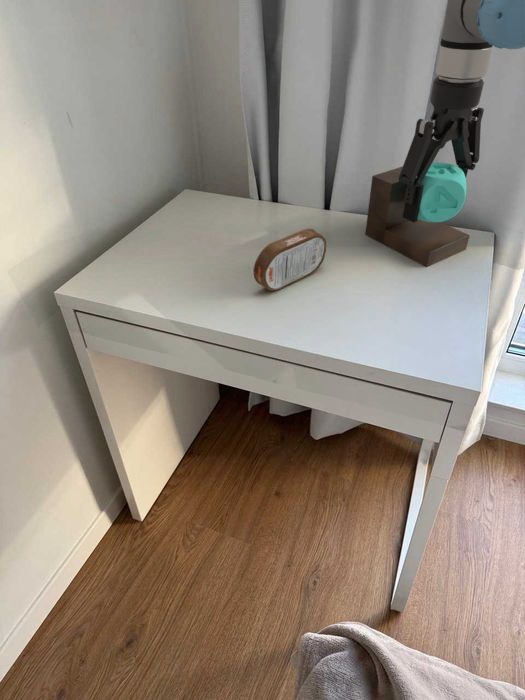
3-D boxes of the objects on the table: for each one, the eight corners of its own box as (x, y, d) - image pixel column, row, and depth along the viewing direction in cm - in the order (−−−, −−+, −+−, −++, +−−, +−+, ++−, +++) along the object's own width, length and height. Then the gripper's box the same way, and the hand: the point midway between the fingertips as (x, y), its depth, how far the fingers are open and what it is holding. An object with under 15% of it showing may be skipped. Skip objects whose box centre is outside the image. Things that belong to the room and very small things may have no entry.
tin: (315, 262, 92) (318, 220, 87) (327, 269, 90) (331, 226, 85) (252, 292, 85) (251, 248, 80) (264, 300, 83) (263, 255, 78)
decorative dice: (460, 221, 89) (471, 177, 84) (416, 223, 88) (424, 179, 83) (444, 203, 95) (453, 160, 90) (403, 205, 95) (410, 162, 89)
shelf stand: (465, 249, 95) (482, 188, 87) (426, 267, 90) (440, 204, 82) (403, 220, 105) (413, 162, 97) (365, 234, 100) (372, 175, 93)
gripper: (485, 63, 85) (456, 189, 99) (388, 84, 75) (370, 220, 89) (525, 70, 80) (488, 201, 94) (427, 93, 70) (402, 236, 84)
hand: (431, 211), depth 91 cm, fingers closed on decorative dice, 11 cm apart
